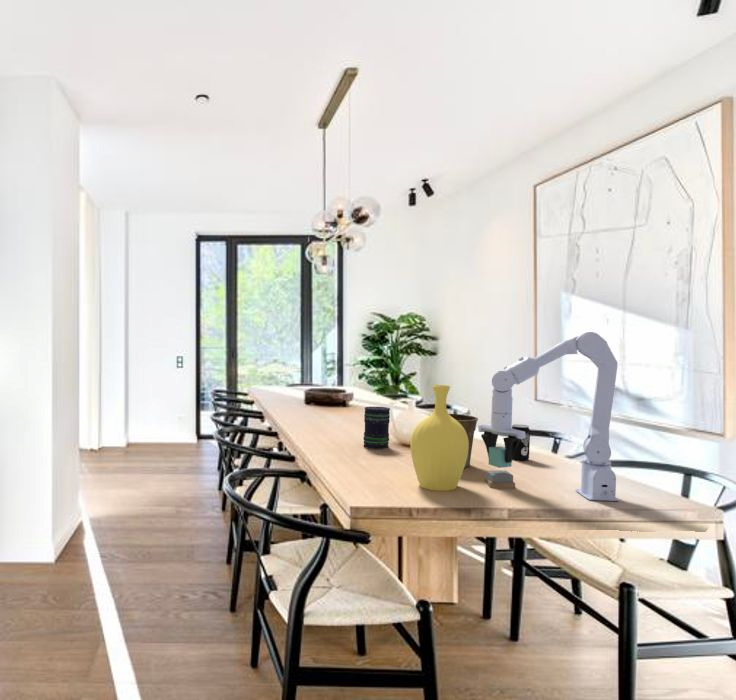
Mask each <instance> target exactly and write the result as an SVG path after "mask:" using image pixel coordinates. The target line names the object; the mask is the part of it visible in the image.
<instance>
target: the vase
mask: <svg viewBox="0 0 736 700" xmlns="http://www.w3.org/2000/svg"><path fill="white" fill-rule="evenodd" d="M432 389H433V392H434V394H435V404H434V410H433V412H432V413H430V414H431V415H430V414H429V415H428V416H426V417H424V418H423V419H422V420H421V421H419V423H418V424H416V426H415V428H414V429H413V431H412V433H411V437H410V453H411V459H412V463H413V467H414V472H415V475H416V479H417V482H418V484H419V486H420V487H421V488H422V489H426V490H429V491H437V492H438V491H439V492H449V491H454V490H456V489H457V487H458V484H459V482H460V480H461V477H462V475H463V472H464V469H465V468H464V467H465V463H466V460H467V455H468V450H469V441H468V436H467V433H466V431H465V429H464V428H463V426H462V425H461V424H460V423H459V422H458V421H456V420H455V419H454V418H453V417H451V416H450V415H449V414H450V413H449V412H448V410H447V409H448V408H447V398H448V394H449V392H450V390H451V386H450V385H442V384H434V385H432Z"/></svg>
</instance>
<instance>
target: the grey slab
mask: <svg viewBox="0 0 736 700" xmlns="http://www.w3.org/2000/svg"><path fill="white" fill-rule="evenodd" d="M485 477H486V478H487V479H488V480H490V481H491V482H504V483H513V482H514V475H513V474H512V473H510V472H509V471H508V470H497V469H496V470H493V469H492V470H490V469H489V470H488V469H487V470H485Z"/></svg>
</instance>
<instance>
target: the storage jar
mask: <svg viewBox="0 0 736 700" xmlns="http://www.w3.org/2000/svg"><path fill="white" fill-rule="evenodd" d="M390 409H391V408H390V407H386V406H365V407H364V416H363V417H364V419H363V420H364V432H363V448H365V449H368V450H387V449H389V443H390V433H389V432H390V431H389V428H390V425H389V424H390V418H391V411H390Z"/></svg>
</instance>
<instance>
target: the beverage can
mask: <svg viewBox="0 0 736 700" xmlns="http://www.w3.org/2000/svg"><path fill="white" fill-rule="evenodd" d="M512 429H516V430H520V431H524V432H525V439H521V441H520V443H519V444H518V446H517V448H516V450H515V452H514V455H513V459H514V460H513V459H512V460H513V461H517V460H519V461H518V462H525V461H526V460H527V461H528V460H529V459H530V445H531V444H530V441H531V430H530V426H529V425H526V424H512ZM527 461H526V462H527Z"/></svg>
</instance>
